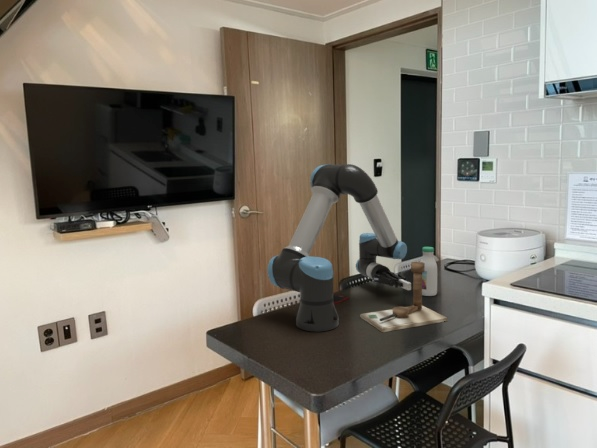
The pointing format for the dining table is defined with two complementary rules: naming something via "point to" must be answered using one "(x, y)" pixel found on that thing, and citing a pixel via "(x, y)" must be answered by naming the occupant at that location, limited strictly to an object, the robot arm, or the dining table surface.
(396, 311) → the wooden l-shaped rod
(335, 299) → the cell phone
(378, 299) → the dining table surface
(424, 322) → the beige flat rectangular board
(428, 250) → the milk bottle
